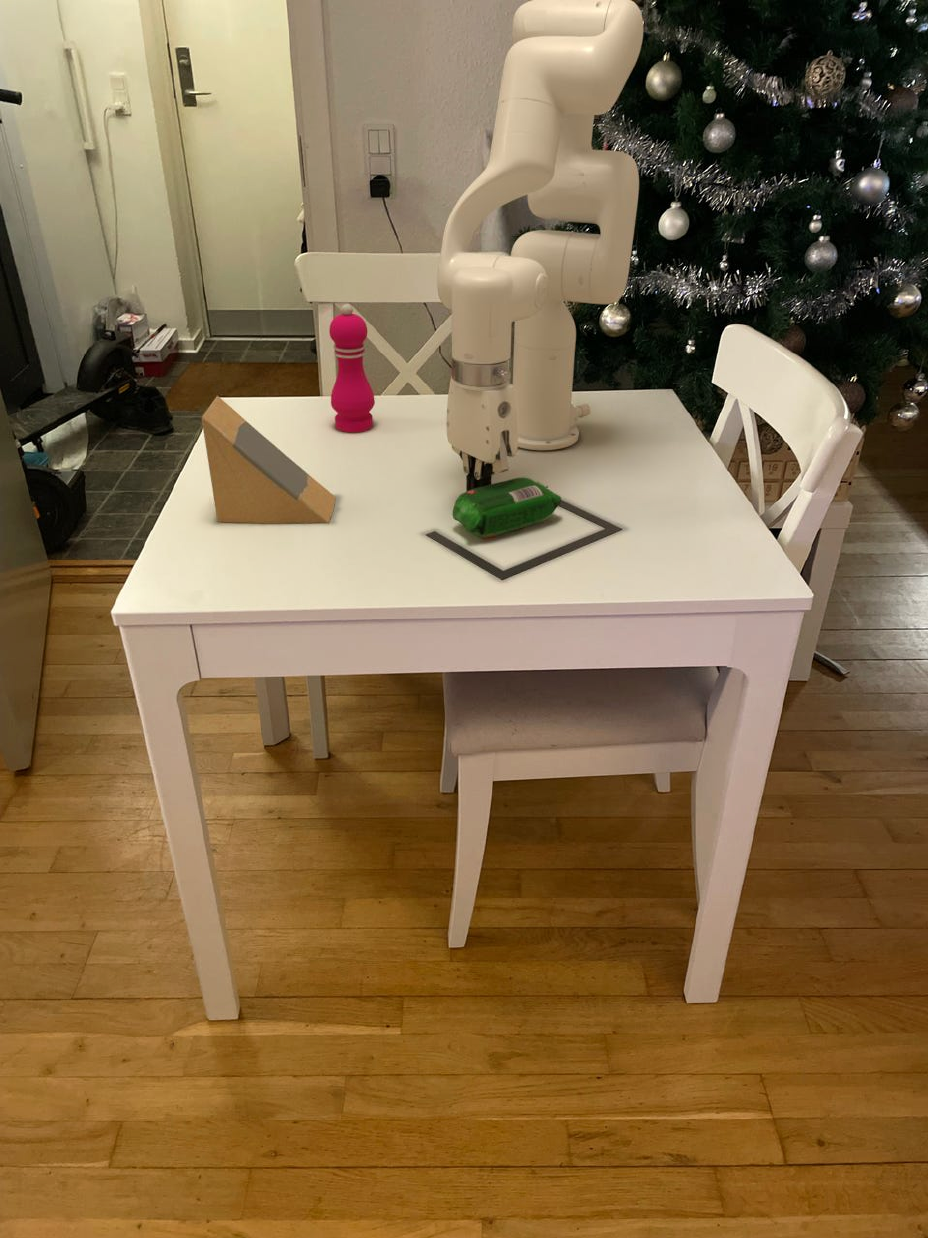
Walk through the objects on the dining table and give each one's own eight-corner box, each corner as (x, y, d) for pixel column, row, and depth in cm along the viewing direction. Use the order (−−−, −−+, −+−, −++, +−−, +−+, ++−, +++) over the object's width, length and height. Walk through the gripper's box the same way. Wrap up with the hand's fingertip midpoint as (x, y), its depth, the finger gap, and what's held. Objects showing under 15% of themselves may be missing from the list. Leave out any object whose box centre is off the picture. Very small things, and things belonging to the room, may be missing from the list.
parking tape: (543, 491, 136) (543, 491, 136) (622, 529, 126) (622, 528, 126) (425, 534, 125) (425, 534, 125) (502, 579, 115) (502, 579, 115)
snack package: (569, 521, 129) (572, 485, 126) (471, 547, 122) (471, 510, 119) (539, 501, 134) (541, 467, 131) (444, 526, 127) (443, 490, 124)
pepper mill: (338, 417, 161) (330, 297, 151) (380, 419, 161) (374, 299, 150) (327, 432, 155) (318, 308, 145) (370, 435, 155) (364, 310, 144)
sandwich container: (329, 523, 127) (321, 417, 119) (216, 523, 127) (200, 416, 119) (337, 496, 135) (329, 394, 127) (230, 495, 135) (215, 393, 127)
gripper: (542, 379, 118) (535, 512, 128) (466, 351, 128) (465, 477, 138) (496, 391, 114) (493, 527, 124) (422, 361, 124) (424, 490, 134)
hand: (478, 500), depth 131 cm, fingers closed
